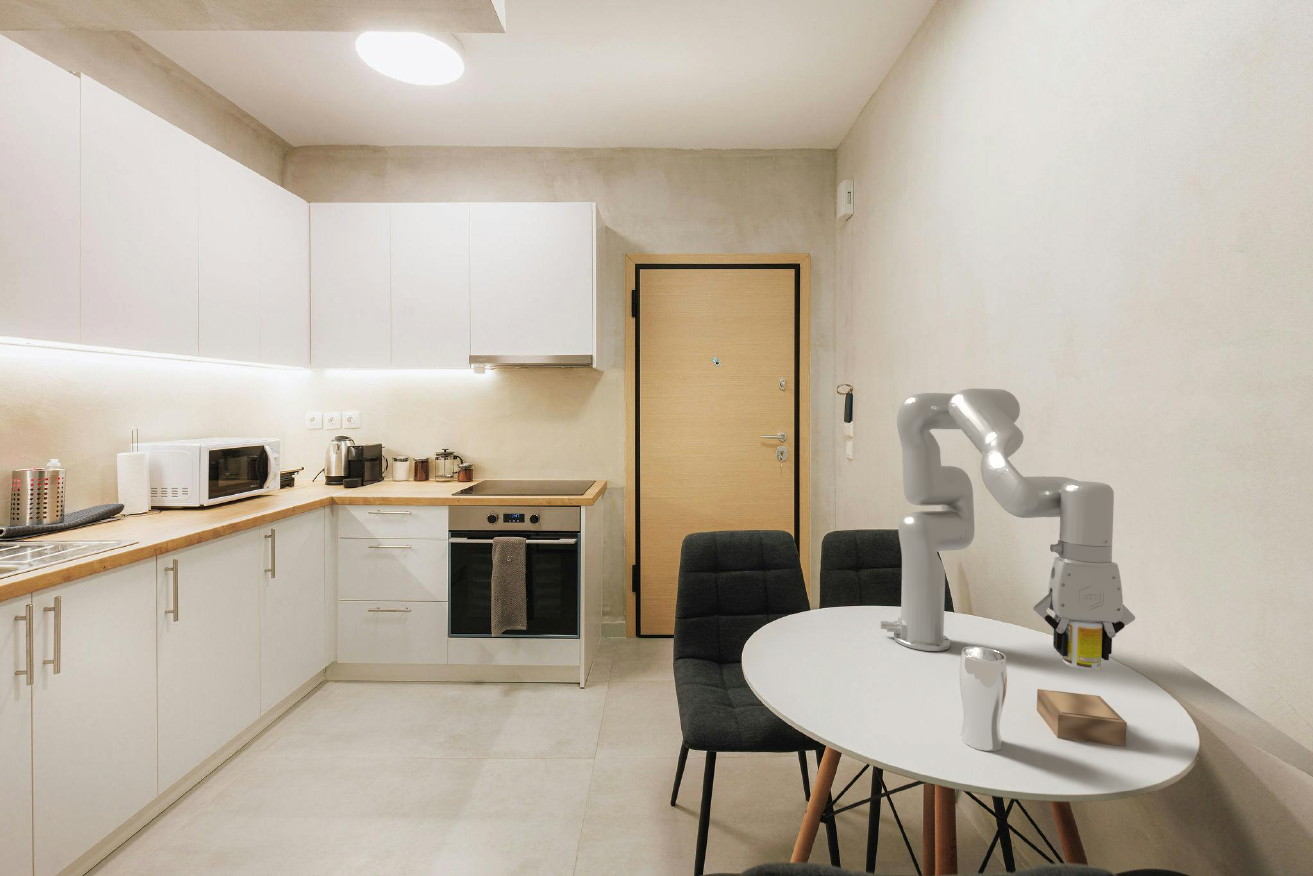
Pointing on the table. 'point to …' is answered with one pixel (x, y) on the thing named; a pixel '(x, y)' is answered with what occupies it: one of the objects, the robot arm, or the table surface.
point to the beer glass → (982, 696)
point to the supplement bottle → (1084, 645)
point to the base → (1081, 717)
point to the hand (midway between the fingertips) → (1081, 654)
